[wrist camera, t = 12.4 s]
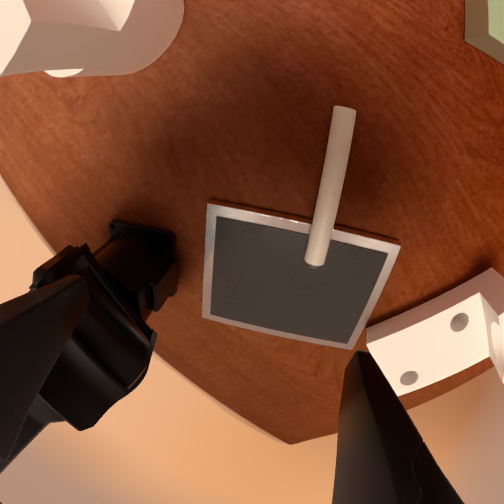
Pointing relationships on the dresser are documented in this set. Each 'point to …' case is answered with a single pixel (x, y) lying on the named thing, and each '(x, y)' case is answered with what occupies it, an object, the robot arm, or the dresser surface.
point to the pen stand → (485, 26)
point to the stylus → (330, 185)
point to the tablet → (290, 275)
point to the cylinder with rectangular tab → (85, 35)
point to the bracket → (442, 335)
